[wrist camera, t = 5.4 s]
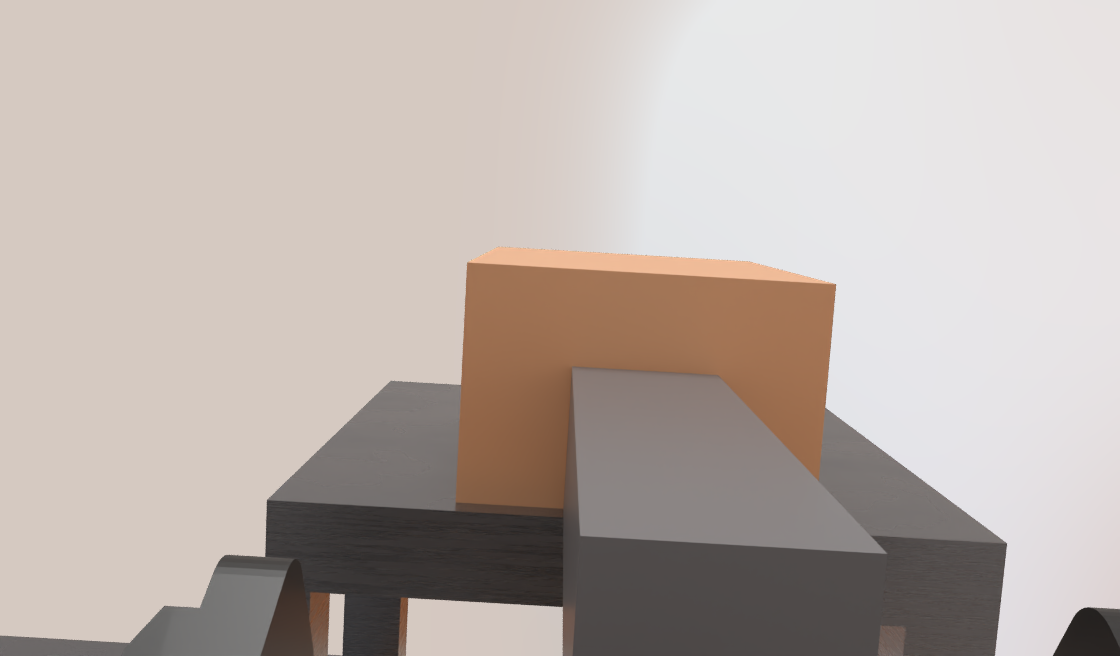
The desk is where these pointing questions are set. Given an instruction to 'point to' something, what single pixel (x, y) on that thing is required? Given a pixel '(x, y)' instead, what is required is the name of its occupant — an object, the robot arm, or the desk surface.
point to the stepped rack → (537, 537)
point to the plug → (668, 450)
